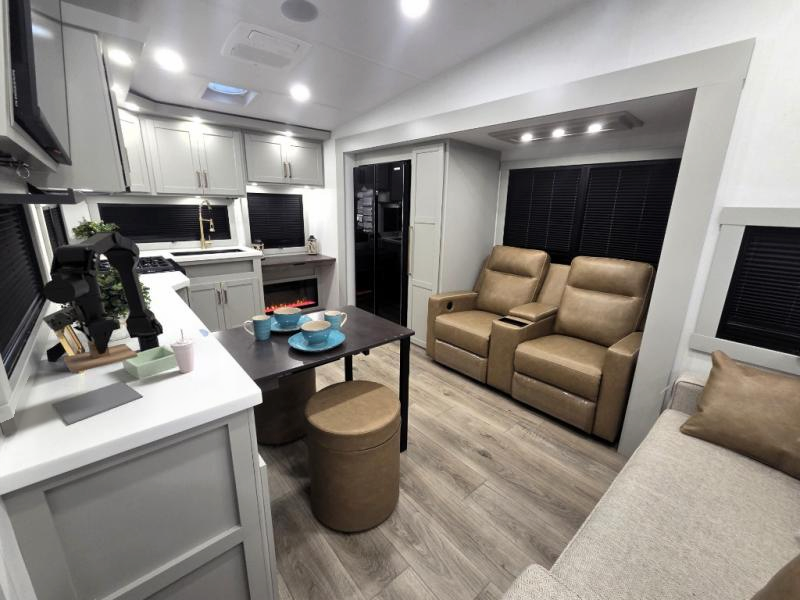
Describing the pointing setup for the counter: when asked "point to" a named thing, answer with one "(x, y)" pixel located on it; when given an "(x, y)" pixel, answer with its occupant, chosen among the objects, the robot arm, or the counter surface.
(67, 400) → the mat
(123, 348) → the lid
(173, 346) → the smoothie
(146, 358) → the dish
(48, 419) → the counter surface
